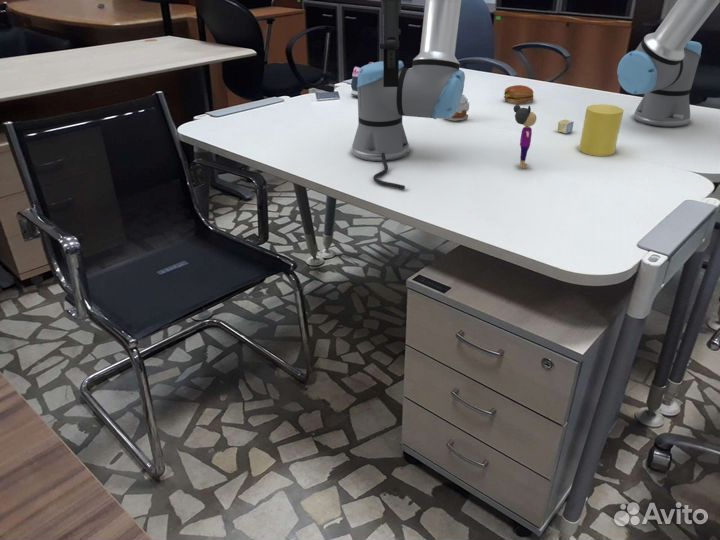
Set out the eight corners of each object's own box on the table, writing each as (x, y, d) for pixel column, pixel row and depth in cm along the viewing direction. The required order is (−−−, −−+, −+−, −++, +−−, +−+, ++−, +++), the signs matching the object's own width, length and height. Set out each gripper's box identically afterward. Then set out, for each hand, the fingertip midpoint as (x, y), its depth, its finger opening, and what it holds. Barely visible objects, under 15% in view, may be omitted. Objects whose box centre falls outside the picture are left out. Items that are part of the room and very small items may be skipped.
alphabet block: (565, 133, 164) (567, 123, 162) (556, 131, 166) (558, 121, 164) (572, 131, 165) (574, 121, 164) (563, 129, 168) (565, 119, 166)
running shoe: (411, 86, 217) (412, 56, 211) (366, 100, 200) (365, 68, 195) (392, 82, 222) (392, 53, 217) (346, 96, 206) (345, 65, 200)
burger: (537, 99, 196) (538, 85, 194) (525, 105, 190) (527, 91, 188) (510, 95, 202) (511, 82, 199) (498, 101, 195) (499, 87, 193)
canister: (572, 146, 155) (579, 106, 149) (601, 143, 157) (609, 103, 151) (591, 157, 147) (600, 115, 142) (621, 153, 149) (631, 111, 144)
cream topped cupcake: (469, 115, 182) (472, 66, 174) (466, 122, 175) (469, 72, 168) (444, 114, 184) (447, 66, 176) (441, 121, 177) (443, 71, 169)
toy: (530, 174, 138) (539, 113, 130) (507, 173, 139) (514, 112, 131) (528, 159, 147) (536, 101, 139) (506, 158, 148) (513, 100, 140)
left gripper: (416, -48, 87) (412, 94, 98) (410, -53, 108) (408, 64, 119) (367, -46, 87) (369, 94, 98) (371, -52, 109) (372, 64, 120)
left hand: (390, 78), depth 109 cm, fingers open, 13 cm apart
